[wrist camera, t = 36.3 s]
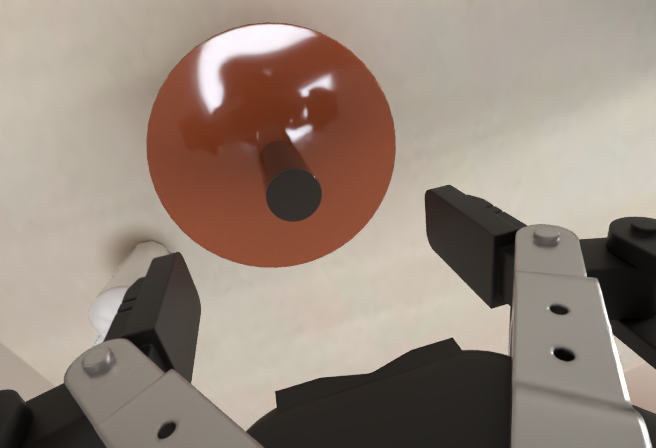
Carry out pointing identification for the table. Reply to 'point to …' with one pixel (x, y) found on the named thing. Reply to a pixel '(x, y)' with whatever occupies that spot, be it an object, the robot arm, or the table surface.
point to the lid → (271, 145)
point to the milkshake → (122, 285)
